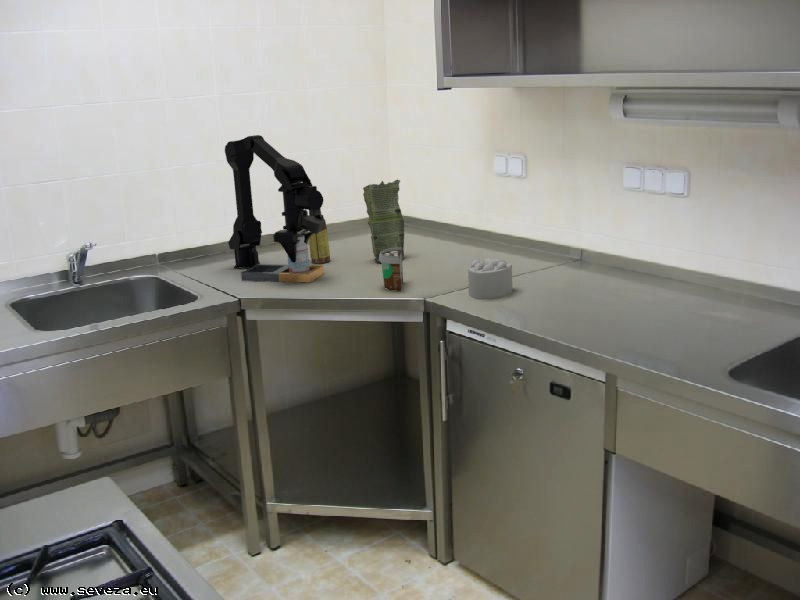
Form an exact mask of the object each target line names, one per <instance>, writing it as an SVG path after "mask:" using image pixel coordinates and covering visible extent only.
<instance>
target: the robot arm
mask: <svg viewBox="0 0 800 600" xmlns="http://www.w3.org/2000/svg"><path fill="white" fill-rule="evenodd" d="M264 138H265V137H263V136H262V135H260V134H255V135H254V134H253V135H248V136H246V137H244V138H242V139H239V140H230V141H227V143H226V144H225V146H224V154H225V158H226V162H227V164H228V165H229V167H230V168H231V169H232V174H233V184H234V192H235V193H234V194H235V206H236V213H237V216H236V219H235V220H234V222H233V226H232V227H233V229H232V231H233V233H232V235H231V237H230V238H229V241H228V243H227V244H228V247H229V249H230V250H233V252H234V253H233V254H234V260H235V262H234V263H235V265H234V266H233V268H234V269H249V268H251V267H253V266H255V265H257V264H261V262H260V260H259V252H258V250H257V247H259V246H261V241H262V240H261V238H262V234H263V230H262V222H261V221H260V220H258V219H257V218H256V216H255V215H254V207H253V194H252V184H251V183H252V182H251V173H250V169H251V167H252V164H253V162H254V157H255V156H256V157H258V159H260V160H261V161H262V162H264V163H265V164H266V165H267V166H268V167H269V168H271V170H272V171H273V175H274V178H275V179H276V180H277V181H278V182H279V184H280V187H279V188H278V189H277V190H278V191H277V192H279V193H282V200H283V211H282V212H281V216H282V217H284V224H285V225H283V226H282V229H280V230H278V231H275V232H274V234H273V235H272V238H273V241H272V242H273V243H278V244H280V245H281V247H282V249H283V250H284V251H285V253H286V255H287V257H288V256H289V258H290V260H291V261H292V262H296V247H297V244H298V243H299V241H300V240H297V238H298V235H304V238H305V240H304V243H306V244H307V245H308V244H309V238H310V237H311V236H312V235H313V234H318V233H319V232H322V228H323V226H324V225H325V221H326V220H324V219H325V217H324V215H323V214H322V213H321V214H317V215H316V216H315V217H314V216H309V210H315V211H316V210H319V209H322V207H323V204H324V197H323V195H322V192H320V191H319V190H318V188H317V186H316V185H313V183H312V180H311V179H310V178H309V176H308V174H307V173H306V171H305V169H304V166H303V165H302V164H301V163H300V162H298V161H295V160H294V159H290V158H287V157H285V156H284V155H282V154H281V153H280V152H278V150H276V149H275V148H274V147H273V146H272V145H271V144H269V143H268V142H267V141H266V140H265V139H264ZM254 155H255V156H254ZM310 231H311V232H310Z"/></svg>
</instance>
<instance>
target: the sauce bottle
mask: <svg viewBox="0 0 800 600" xmlns="http://www.w3.org/2000/svg"><path fill="white" fill-rule="evenodd" d="M321 209H322V208H320V209H319V210H316V211H315V210H308V215H309V216H314V217H315V216H316V215H317V214H322V211H321ZM324 220H325V218H324ZM310 232H311V231H310ZM329 244H330V243H329V235H328V228H327V222H326V220H325V225H324V226H323V228H322V232H319V233H318V234H313V235H312V236H311V237H310V238H309V239H308V245H309V247H308V249H309V256H310V259H311V260H310V261H311V263H313V264H326V263H329V262H330V261H331V252H330V245H329Z"/></svg>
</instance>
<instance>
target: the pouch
mask: <svg viewBox="0 0 800 600" xmlns="http://www.w3.org/2000/svg"><path fill="white" fill-rule="evenodd" d="M400 183H401V180H400V179H398V178H397V179H395V180H394V181H392V182H387V183H386V184H385V182H384V181H383V180H382V181H381V182H380V183H378V184H377V183H371V184H368V185H366V186H364V187H362V189H363V201H364V203H365V206H366V213H367V215H368V221H367V224H368V226H369V227H370V232H371V236H370V239H371V245H372V253H373V257H374V258H375V260H376V262H377V263H381V262H380V261H379V254H380V252H381V251H382V250H385V249H389V248H396V247H402V258H404V257H405V252H404V250H405V249H404V248H405V247H404V246H405V220H404V217H403V215H402V209H401V207H400V204H399V191H400Z"/></svg>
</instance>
